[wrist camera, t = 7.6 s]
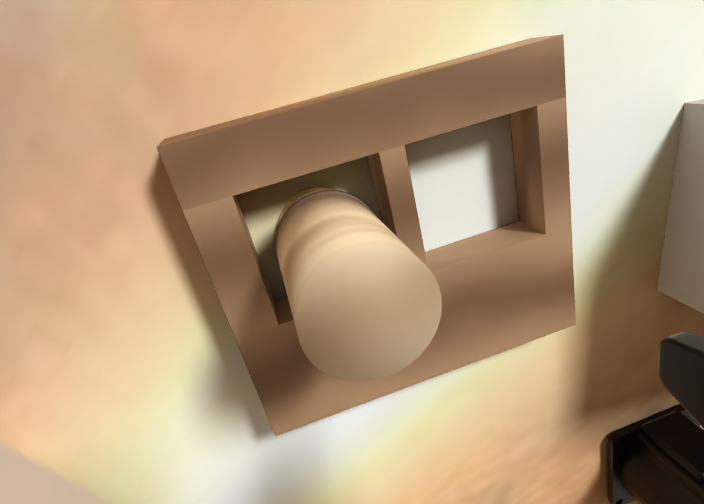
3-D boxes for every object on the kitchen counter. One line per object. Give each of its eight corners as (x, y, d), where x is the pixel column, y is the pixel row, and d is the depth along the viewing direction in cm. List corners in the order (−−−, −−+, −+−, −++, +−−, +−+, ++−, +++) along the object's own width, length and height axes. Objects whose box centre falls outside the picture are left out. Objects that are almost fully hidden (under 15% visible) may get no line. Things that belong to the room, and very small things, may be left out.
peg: (374, 254, 21) (453, 354, 13) (286, 283, 20) (318, 403, 13) (353, 166, 19) (430, 225, 12) (256, 195, 18) (274, 275, 11)
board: (549, 305, 24) (575, 324, 22) (271, 406, 22) (275, 436, 20) (530, 38, 19) (563, 34, 17) (164, 139, 17) (156, 146, 15)
